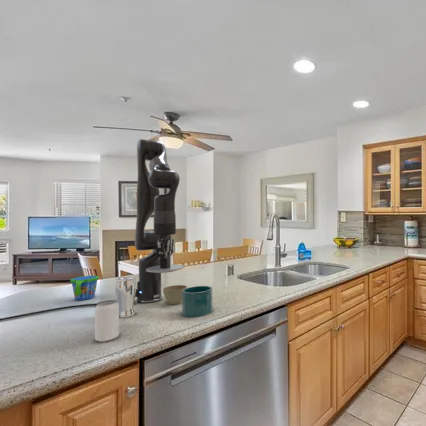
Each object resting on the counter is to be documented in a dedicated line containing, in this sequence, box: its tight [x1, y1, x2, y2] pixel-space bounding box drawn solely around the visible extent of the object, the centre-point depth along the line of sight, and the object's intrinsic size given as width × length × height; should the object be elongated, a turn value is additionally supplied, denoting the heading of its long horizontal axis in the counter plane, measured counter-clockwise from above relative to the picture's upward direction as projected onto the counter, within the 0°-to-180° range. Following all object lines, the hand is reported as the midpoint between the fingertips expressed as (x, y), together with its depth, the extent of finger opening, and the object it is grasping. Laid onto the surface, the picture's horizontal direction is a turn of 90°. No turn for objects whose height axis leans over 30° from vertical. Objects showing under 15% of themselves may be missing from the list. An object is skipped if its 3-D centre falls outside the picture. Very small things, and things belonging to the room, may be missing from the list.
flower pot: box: [162, 284, 188, 305], centre depth 135 cm, size 10×10×7 cm
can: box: [94, 299, 120, 343], centre depth 98 cm, size 6×6×12 cm
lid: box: [146, 254, 185, 274], centre depth 113 cm, size 13×13×6 cm
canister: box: [181, 285, 214, 318], centre depth 123 cm, size 12×12×10 cm
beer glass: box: [115, 276, 137, 319], centre depth 120 cm, size 7×7×15 cm
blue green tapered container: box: [69, 275, 100, 301], centre depth 144 cm, size 16×10×10 cm
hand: (165, 266), depth 113 cm, fingers closed on lid, 3 cm apart
